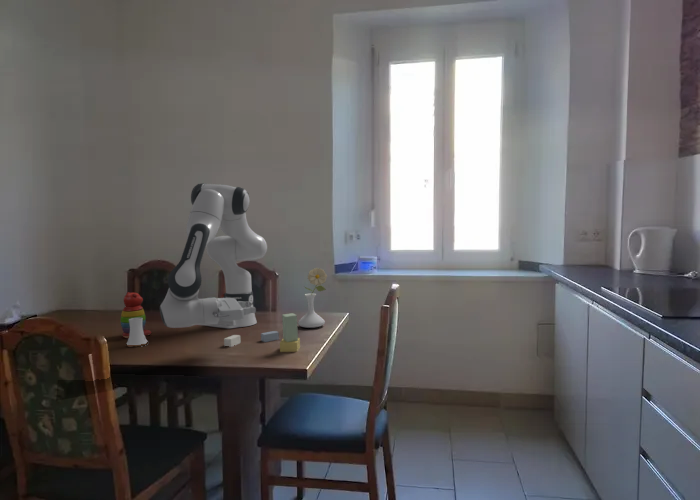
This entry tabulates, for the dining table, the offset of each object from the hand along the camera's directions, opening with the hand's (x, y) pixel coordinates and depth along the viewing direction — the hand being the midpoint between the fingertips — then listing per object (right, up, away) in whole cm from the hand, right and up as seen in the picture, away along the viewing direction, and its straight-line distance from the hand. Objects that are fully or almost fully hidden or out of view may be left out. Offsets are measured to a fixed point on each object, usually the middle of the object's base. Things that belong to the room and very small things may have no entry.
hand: (253, 306), depth 170 cm
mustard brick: (+13, -16, +3) cm, 20 cm away
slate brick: (+3, -15, +16) cm, 22 cm away
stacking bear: (-54, -15, +30) cm, 64 cm away
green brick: (+13, -12, +3) cm, 18 cm away
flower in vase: (+18, -13, +37) cm, 43 cm away
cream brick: (-10, -16, +11) cm, 22 cm away
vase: (-47, -16, +15) cm, 51 cm away
